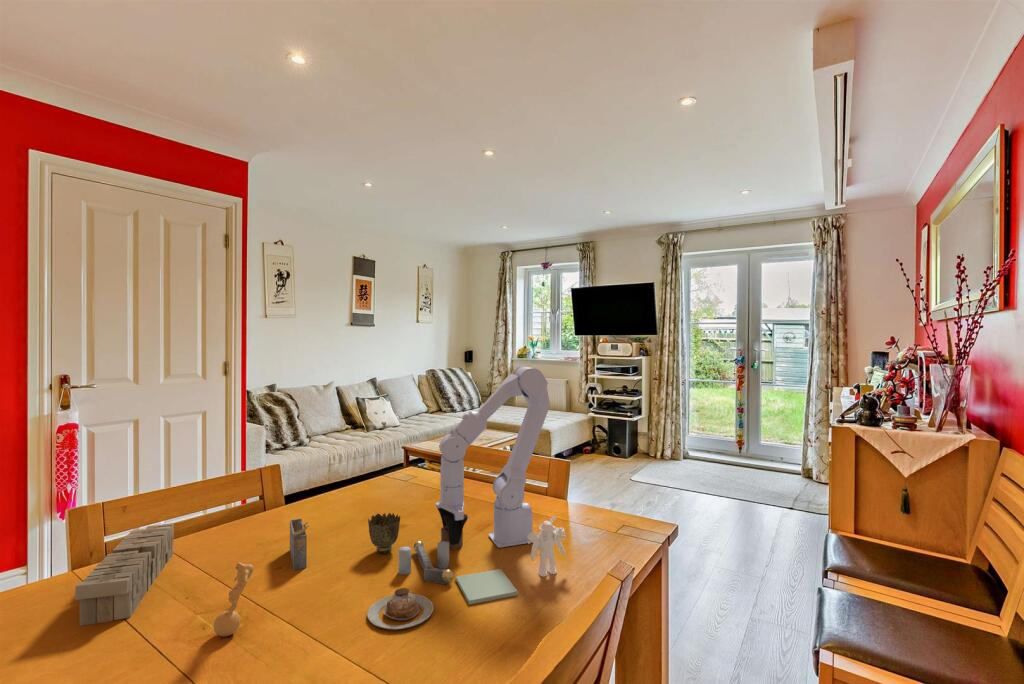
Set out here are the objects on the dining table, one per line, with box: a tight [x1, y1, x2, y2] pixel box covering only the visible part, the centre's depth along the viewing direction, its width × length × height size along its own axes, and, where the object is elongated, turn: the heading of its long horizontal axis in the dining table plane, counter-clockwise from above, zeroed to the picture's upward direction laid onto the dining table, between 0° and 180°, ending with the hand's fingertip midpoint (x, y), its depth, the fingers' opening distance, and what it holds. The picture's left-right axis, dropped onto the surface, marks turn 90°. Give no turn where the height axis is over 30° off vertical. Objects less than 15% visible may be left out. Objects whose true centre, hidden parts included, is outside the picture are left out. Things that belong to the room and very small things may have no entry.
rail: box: [413, 540, 454, 586], centre depth 110 cm, size 6×19×3 cm, turn 21°
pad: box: [455, 568, 518, 605], centre depth 101 cm, size 10×10×1 cm
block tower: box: [74, 522, 175, 627], centre depth 100 cm, size 8×8×29 cm
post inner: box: [436, 540, 450, 569], centre depth 111 cm, size 3×3×5 cm
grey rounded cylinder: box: [398, 546, 412, 576], centre depth 108 cm, size 3×3×5 cm
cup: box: [367, 512, 401, 555], centre depth 118 cm, size 8×7×8 cm
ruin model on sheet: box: [289, 518, 310, 571], centre depth 114 cm, size 11×3×10 cm, turn 28°
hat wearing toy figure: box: [527, 514, 567, 578], centre depth 108 cm, size 9×4×12 cm, turn 112°
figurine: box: [213, 562, 254, 637], centre depth 85 cm, size 8×6×12 cm
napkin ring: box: [440, 525, 464, 551], centre depth 121 cm, size 5×5×4 cm
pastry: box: [366, 587, 435, 630], centre depth 92 cm, size 12×12×5 cm
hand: (451, 539), depth 122 cm, fingers closed on napkin ring, 5 cm apart
